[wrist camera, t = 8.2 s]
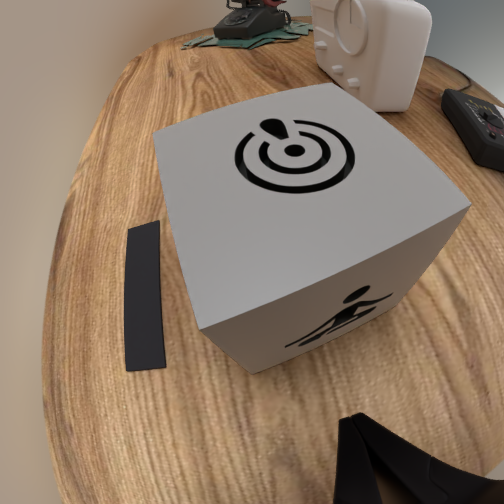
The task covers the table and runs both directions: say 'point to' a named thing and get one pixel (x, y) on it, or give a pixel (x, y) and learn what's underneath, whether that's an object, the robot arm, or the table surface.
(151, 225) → the felt mark
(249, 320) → the icon cube
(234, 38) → the telephone
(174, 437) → the table surface
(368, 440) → the robot arm
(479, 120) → the multimeter
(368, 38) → the radio
